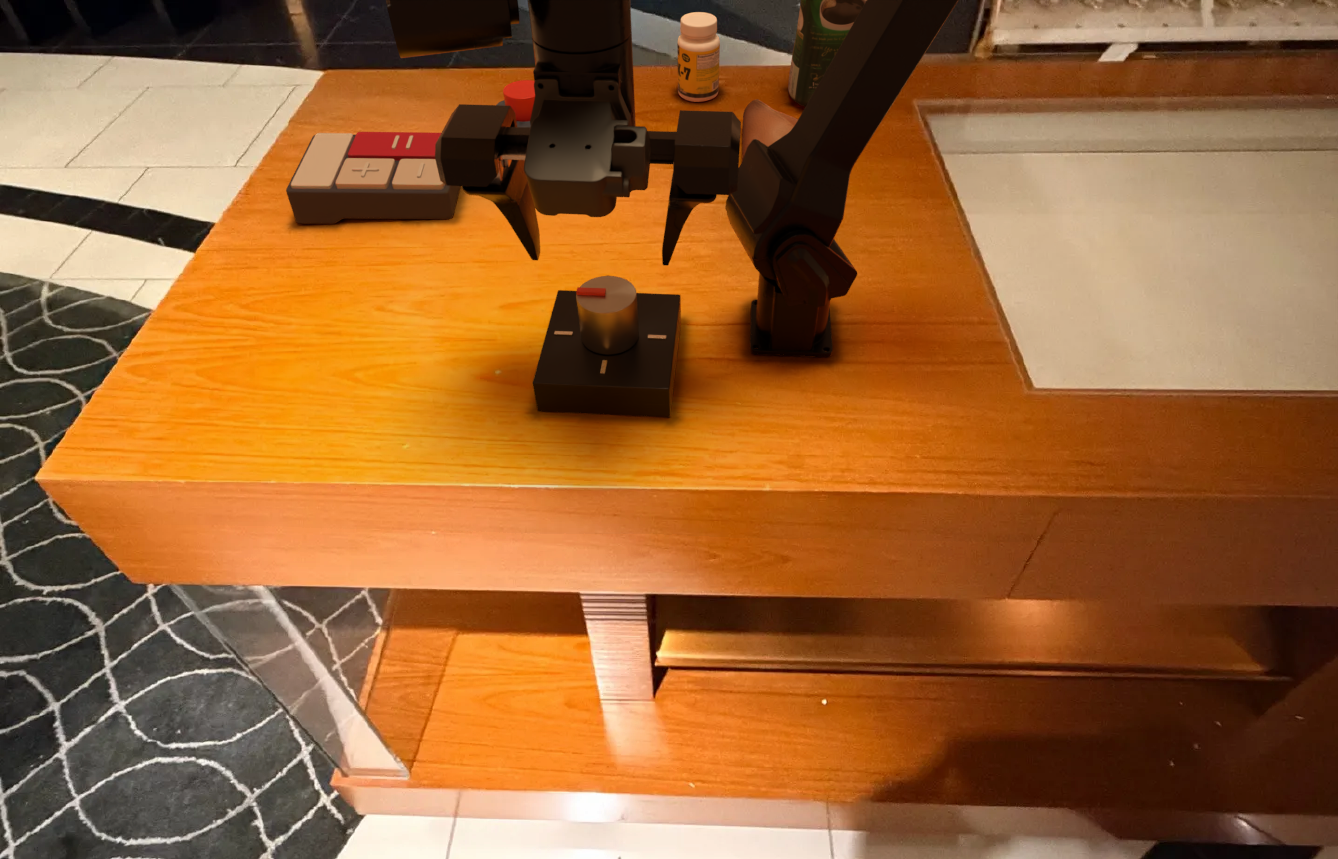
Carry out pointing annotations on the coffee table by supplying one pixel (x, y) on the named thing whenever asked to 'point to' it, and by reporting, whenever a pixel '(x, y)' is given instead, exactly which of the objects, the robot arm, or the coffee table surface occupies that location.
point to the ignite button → (520, 98)
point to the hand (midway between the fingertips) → (600, 259)
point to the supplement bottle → (698, 57)
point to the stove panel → (610, 363)
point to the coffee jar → (818, 42)
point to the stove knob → (608, 314)
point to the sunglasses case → (764, 124)
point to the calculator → (370, 178)
